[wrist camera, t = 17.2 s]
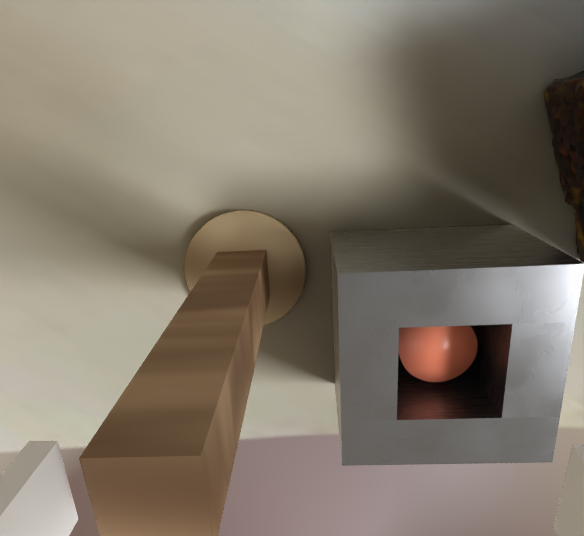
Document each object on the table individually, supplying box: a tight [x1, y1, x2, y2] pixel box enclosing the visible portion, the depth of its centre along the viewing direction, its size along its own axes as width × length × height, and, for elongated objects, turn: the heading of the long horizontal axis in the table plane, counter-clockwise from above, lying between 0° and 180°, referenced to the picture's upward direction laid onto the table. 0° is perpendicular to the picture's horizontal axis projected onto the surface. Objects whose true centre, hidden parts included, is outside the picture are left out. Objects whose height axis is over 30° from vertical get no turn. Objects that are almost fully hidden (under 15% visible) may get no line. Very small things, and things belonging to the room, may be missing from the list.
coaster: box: [184, 210, 306, 325], centre depth 26 cm, size 7×7×1 cm
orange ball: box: [398, 325, 477, 382], centre depth 24 cm, size 4×4×4 cm
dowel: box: [79, 250, 270, 536], centre depth 18 cm, size 3×3×16 cm
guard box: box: [330, 224, 584, 465], centre depth 23 cm, size 10×10×7 cm
